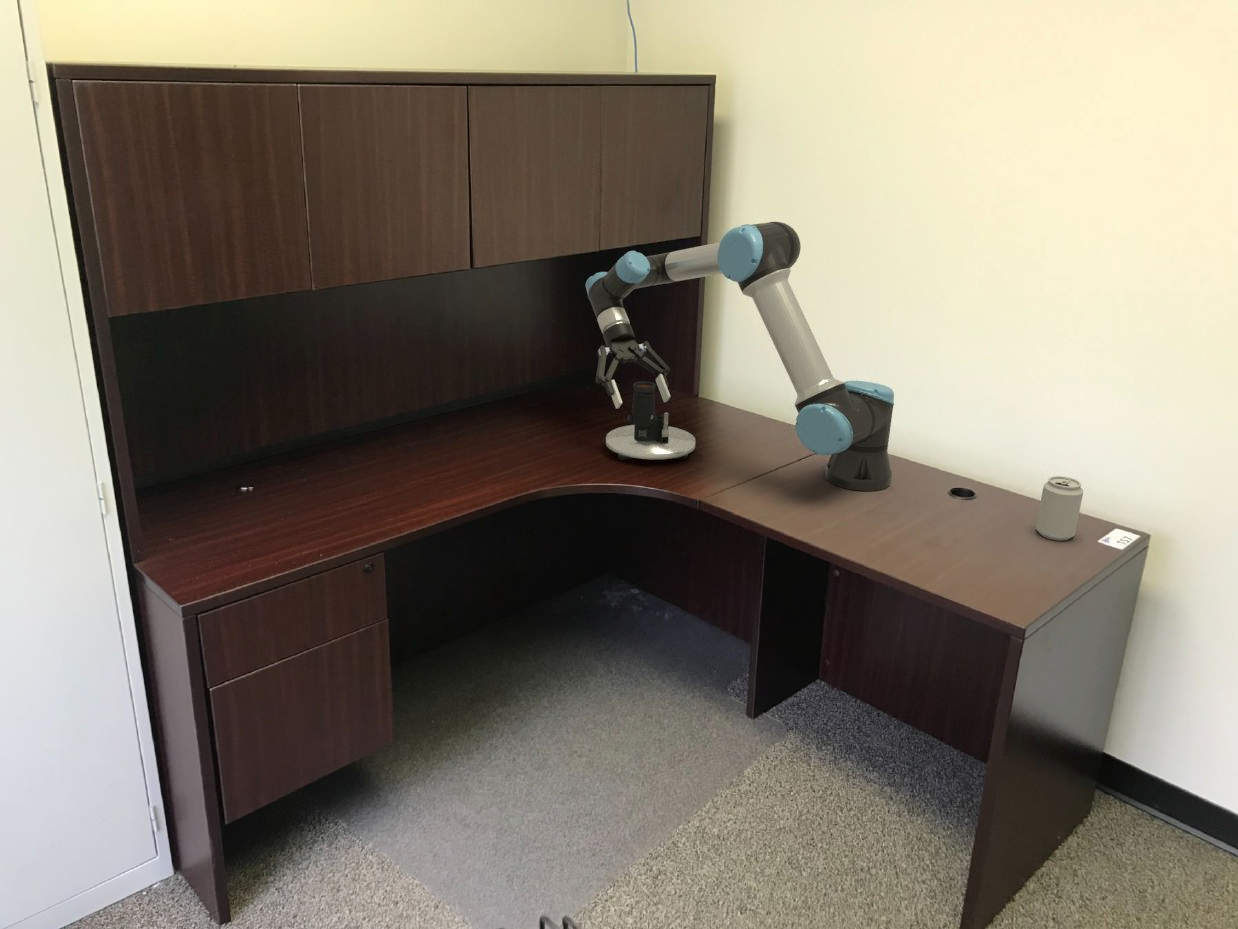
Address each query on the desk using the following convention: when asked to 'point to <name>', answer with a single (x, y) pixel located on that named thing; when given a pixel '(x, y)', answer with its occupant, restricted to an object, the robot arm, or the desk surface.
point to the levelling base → (650, 444)
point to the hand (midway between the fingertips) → (643, 402)
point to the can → (1059, 508)
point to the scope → (647, 415)
